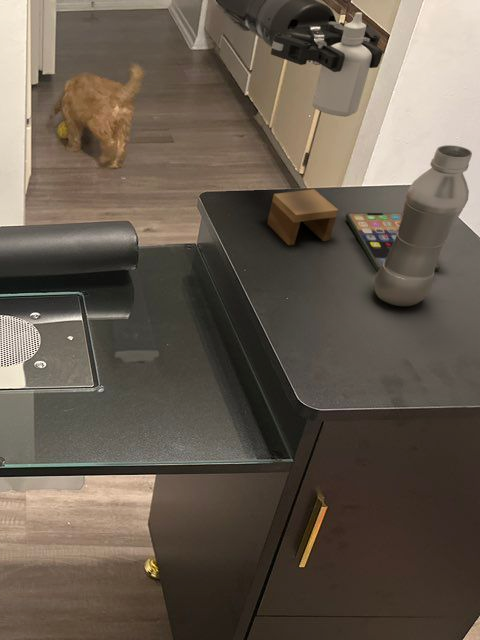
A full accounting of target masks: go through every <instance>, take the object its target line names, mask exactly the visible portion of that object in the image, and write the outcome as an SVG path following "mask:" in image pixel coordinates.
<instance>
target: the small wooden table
mask: <svg viewBox="0 0 480 640" xmlns="http://www.w3.org/2000/svg"><path fill="white" fill-rule="evenodd" d="M338 213H339V209H338V208H337V207H335V206H334V205H333V204H332V203H331V202H330V201H328V199H326V198H325V197H324V196H323V195H322V194H321V193H319V192H318V191H317V190H315V189H314V188H313V189H312V188H311V189H304V190H296V191H287V192H280V193H273V197H272V201H271V205H270V209H269V214H268V218H267V223H266V224H267V225H268V226H269V228H271V229H272V230H273V231H274V232H275V234H277V235H278V237H279V238H280V239H281V240H282V241H283V242H284V243H285V244H286V245H287V246H294V245H296V240H297V236H298V233H299V229H300V225H301V222H302V223H303V224H304V225H305V226H306V228H308V229H309V230H310V231H312V232H313V233H314V235H315V236H317V237H318V238H319V239H320V240H321V241H322V242H327V241H330V239H331V235H332V232H333V229H334V227H335V222H336V220H337V216H338Z"/></svg>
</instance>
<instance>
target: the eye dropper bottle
mask: <svg viewBox="0 0 480 640" xmlns="http://www.w3.org/2000/svg"><path fill="white" fill-rule="evenodd" d="M362 19H363V12H355V14H354V16H353V19H352V21H351V22H347V23H346V24H345V25H344V26H345V28H344V32H343V36H342V40H341V43H337V44H334V45H332V47H334V48H336V49H337V50H339V51H341V52H343V53H344V54H345V59H344V62H343V66H342V69H341V71H340V72H333V71H331V70H330V69H328V68H326V67H325V66H323V65H320V71H319V75H318V78H317V79H318V80H317V83H316V88H315V91H314V96H313V100H312V107H313V108H314V109H316V110H317V111H318V112H321V113H324V114H327V115H332V116H337V117H350V116H351V115H354V114H356V113H357V112H358V111H359V106H360V103H361V100H362V96H363V94H364V93H363V92H364V90H365V86H366V81H367V78H368V75H369V71H370V68H369V67H370V63H371V59H372V54H371V52H370V51H369V50H368V49H367V48H366V47H365V46H363V45H362V44H361V43H362V41H363V37H364V34H365V30H366V25H365V24H366V23H364V22H363V21H362Z"/></svg>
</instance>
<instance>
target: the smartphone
mask: <svg viewBox="0 0 480 640" xmlns="http://www.w3.org/2000/svg"><path fill="white" fill-rule="evenodd" d="M402 215H403V212H391V213H390V212H389V213H388V212H384V213H383V212H367V213H364V212H363V213H358V212H357V213H346V214H345V220H346V221H347V223H348V224H349V226H350V228H351V229H352V231H353V233H354V234H355V236H356V238H357V239H358V242H359V243H360V245H361V246H362V248H363V250H364V252H365V253H366V255H367V257H368V259H369V260H370V261H371V263H372V265H373V267H374V269H375V271H376V272H378V271H379V269H380V267H381V265H382V264H383V262H384V261H385V260H386V258H387V256H388V253H389V251H390V249H391V247H392V245H393V243H394V241H395V239H396V235H397V232H398V229H399V226H400V223H401V219H402ZM439 270H440V266H439V264H438V263H437V264H436V267H435V270H434V272H439Z"/></svg>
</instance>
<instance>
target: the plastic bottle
mask: <svg viewBox="0 0 480 640" xmlns="http://www.w3.org/2000/svg"><path fill="white" fill-rule="evenodd" d="M472 155H473V152H472V150H470V149H468V148H467V147H463V146H459V145H451V144H450V145H449V144H446V145H441V146H438V147H437V148H436V150H435V152H434V155H433V158H432V159H431V161H430V164H429V165H430V167H431V168H430V169H428V170H427V171H425V172H424V173H422V174H420V176H418V177H417V178H416V179H415V180H414V181H413V182H412V183H411V185H410V186H409V187H408V189H407V192H406V196H405V200H404V205H403V210H402V219H401V223H400V226H399V229H398V232H397V235H396V239H395V241H394V243H393V245H392V247H391V249H390V251H389V253H388V256H387V258H386V260H385V261H384V262H383V264H382V265H381V267H380V269H379V271H376V274H375V277H374V284H373V288H374V292H375V295H376V296H377V297H378V299H380V300H381V301H383V302H384V303H386V304H389V305H393V306H396V307H397V306H398V307H411V306H415V305H417V304H418V303H420V302H422V301H423V300H424V299H426V296H427V295H428V294H429V293H430V291H431V289H432V285H433V282H434V277H435V271H434V270H435V267H436V264H438V261H439V258H440V254H441V250H442V248H443V247H444V244H445V242H446V240H447V238H448V236H449V234H450V232H451V230H452V228H453V226H454V225H455V223H456V222H457V220H458V218H459V216H460V215H461V213H462V212H463V210H464V208H466V205H467V203H468V201H469V193H470V190H469V185H468V183H467V180H466V177H465V175H464V173H465V172H466V171H468V168H469V166H470V161H471V158H472Z"/></svg>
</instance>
